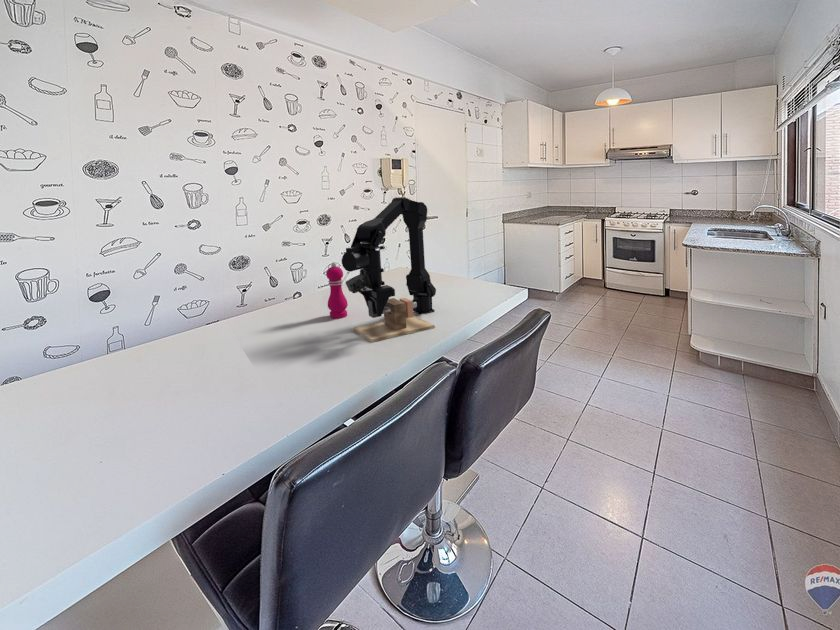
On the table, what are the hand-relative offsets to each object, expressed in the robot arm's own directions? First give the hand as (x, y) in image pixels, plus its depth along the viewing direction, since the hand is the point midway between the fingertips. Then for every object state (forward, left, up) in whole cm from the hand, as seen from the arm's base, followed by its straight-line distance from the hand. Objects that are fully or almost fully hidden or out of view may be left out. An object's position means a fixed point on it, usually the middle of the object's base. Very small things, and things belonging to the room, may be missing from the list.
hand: (375, 313), depth 143 cm
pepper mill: (+3, -26, -7) cm, 27 cm away
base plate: (-6, 0, -6) cm, 9 cm away
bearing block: (-7, 0, -6) cm, 10 cm away
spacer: (-11, 0, -3) cm, 12 cm away
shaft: (-7, 0, -1) cm, 7 cm away
